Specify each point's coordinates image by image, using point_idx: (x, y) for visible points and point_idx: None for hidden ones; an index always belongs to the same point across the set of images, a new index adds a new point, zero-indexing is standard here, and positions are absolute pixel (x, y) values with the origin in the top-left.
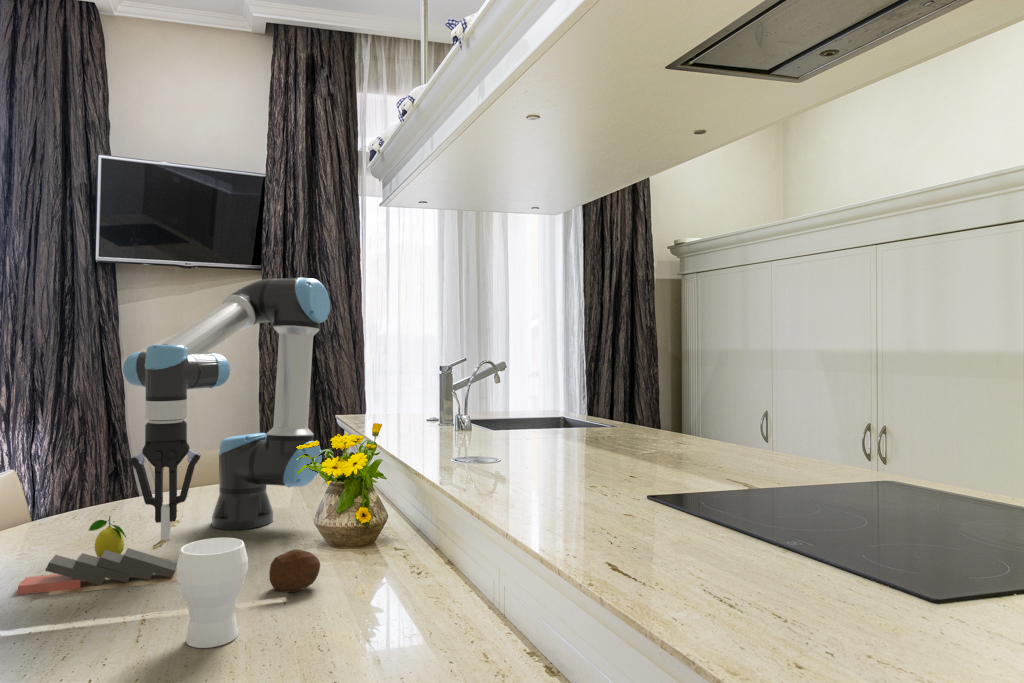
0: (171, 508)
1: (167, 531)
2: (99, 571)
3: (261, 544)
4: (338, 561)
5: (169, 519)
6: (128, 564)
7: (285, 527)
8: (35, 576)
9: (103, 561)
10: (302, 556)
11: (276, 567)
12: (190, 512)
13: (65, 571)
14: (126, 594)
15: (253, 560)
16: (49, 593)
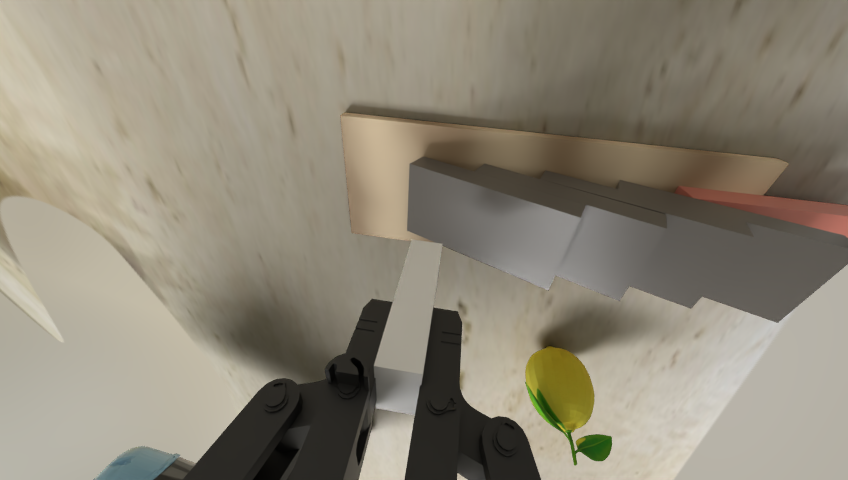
0: (368, 361)
1: (412, 262)
2: (643, 201)
3: (263, 317)
4: (20, 135)
5: (392, 307)
6: (554, 196)
7: (247, 373)
8: None
9: (646, 217)
10: None
11: None
12: None
13: (763, 221)
14: (556, 96)
15: (249, 234)
16: (777, 175)
